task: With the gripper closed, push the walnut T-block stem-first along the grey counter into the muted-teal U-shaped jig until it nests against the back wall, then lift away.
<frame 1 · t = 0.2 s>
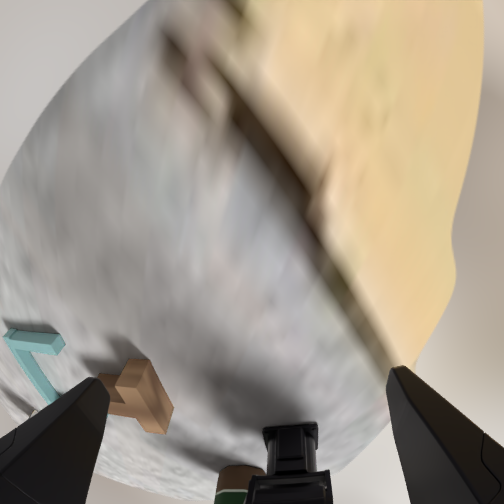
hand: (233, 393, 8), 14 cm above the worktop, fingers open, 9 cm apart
t block: (131, 383, 29), on the worktop
jig: (59, 374, 31), on the worktop
beer bottle: (244, 472, 37), on the worktop
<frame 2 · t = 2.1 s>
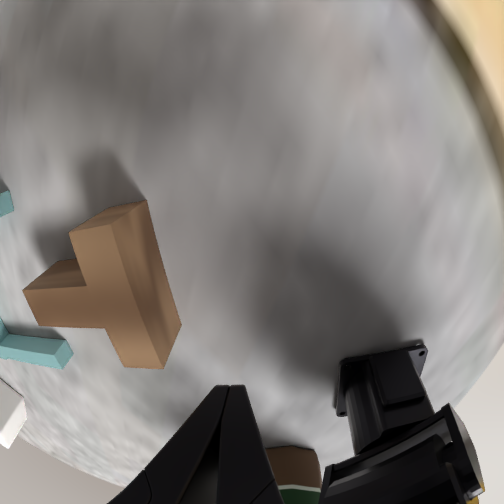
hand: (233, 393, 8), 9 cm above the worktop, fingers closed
t block: (107, 273, 17), on the worktop
jig: (4, 283, 18), on the worktop
beer bottle: (283, 459, 25), on the worktop
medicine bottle: (8, 392, 27), on the worktop
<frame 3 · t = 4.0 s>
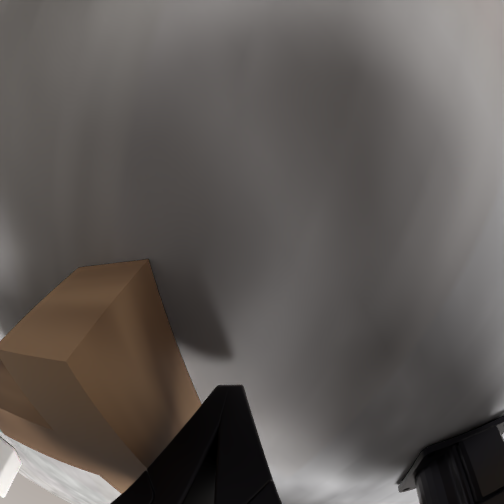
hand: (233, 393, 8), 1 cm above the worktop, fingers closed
t block: (92, 364, 10), on the worktop, touching gripper
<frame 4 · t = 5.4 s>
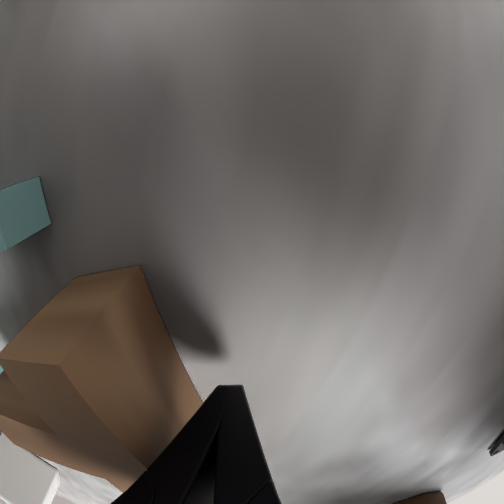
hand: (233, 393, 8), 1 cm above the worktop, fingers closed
t block: (96, 372, 10), on the worktop, touching gripper
jig: (30, 356, 10), on the worktop
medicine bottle: (33, 457, 19), on the worktop
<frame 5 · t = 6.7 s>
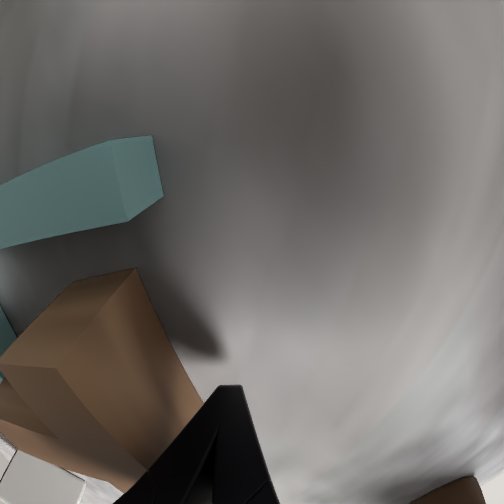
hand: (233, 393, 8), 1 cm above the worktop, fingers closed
t block: (97, 375, 10), on the worktop, touching gripper, jig
jig: (87, 363, 9), on the worktop
beer bottle: (440, 492, 16), on the worktop
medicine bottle: (54, 468, 18), on the worktop
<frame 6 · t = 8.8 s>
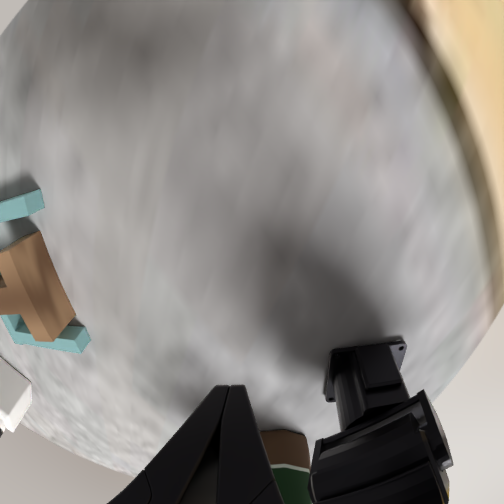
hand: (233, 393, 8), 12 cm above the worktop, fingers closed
t block: (30, 279, 21), on the worktop
jig: (27, 273, 21), on the worktop
beer bottle: (276, 442, 28), on the worktop
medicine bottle: (15, 377, 30), on the worktop
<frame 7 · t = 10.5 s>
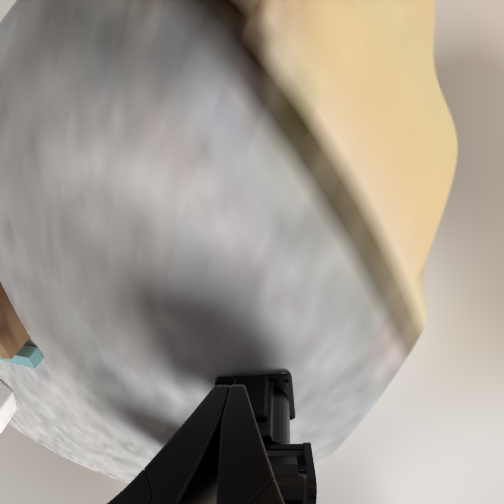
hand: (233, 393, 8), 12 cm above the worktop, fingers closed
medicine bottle: (2, 387, 33), on the worktop
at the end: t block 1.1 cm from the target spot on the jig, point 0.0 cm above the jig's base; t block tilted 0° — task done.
